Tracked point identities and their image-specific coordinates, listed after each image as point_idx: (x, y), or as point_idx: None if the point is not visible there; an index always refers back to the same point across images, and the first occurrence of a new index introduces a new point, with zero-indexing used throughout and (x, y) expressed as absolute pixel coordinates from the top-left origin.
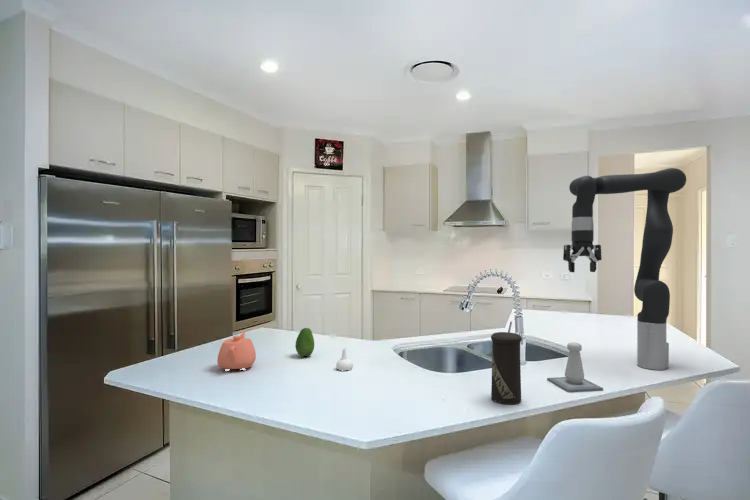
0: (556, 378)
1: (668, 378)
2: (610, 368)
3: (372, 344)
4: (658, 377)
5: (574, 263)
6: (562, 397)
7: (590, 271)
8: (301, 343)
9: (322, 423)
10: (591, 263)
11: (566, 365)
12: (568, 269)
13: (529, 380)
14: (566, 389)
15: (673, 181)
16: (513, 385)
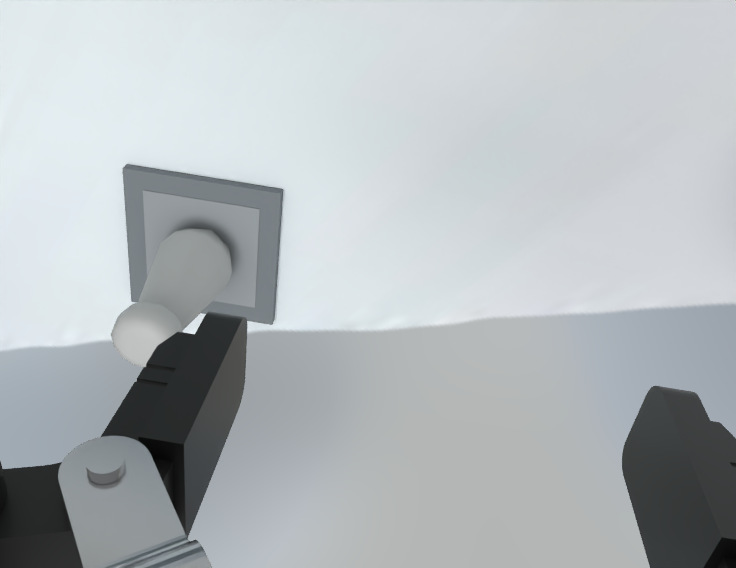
0: (160, 186)
1: (670, 301)
2: (571, 105)
3: None
4: (644, 279)
5: (188, 524)
6: (90, 323)
7: (651, 392)
8: None
9: None
10: (688, 549)
11: (152, 266)
12: (160, 344)
13: (48, 142)
14: (131, 291)
15: None
16: None
